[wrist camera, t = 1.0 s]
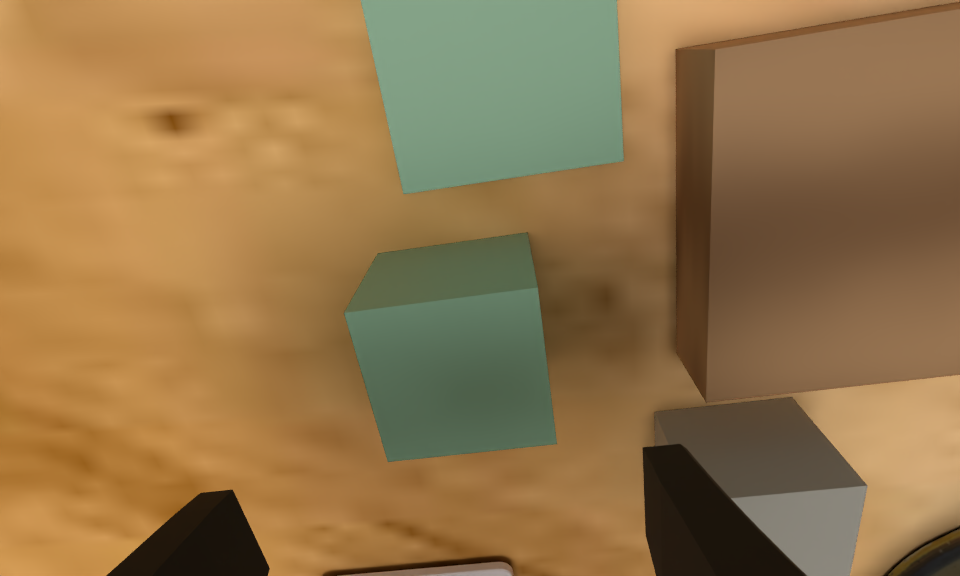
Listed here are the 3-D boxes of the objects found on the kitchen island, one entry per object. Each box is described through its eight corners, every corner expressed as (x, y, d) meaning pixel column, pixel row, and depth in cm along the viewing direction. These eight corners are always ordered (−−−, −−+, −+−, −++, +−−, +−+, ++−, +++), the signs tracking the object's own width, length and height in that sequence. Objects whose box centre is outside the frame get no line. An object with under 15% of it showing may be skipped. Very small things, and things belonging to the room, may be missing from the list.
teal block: (543, 360, 17) (556, 444, 14) (409, 376, 18) (388, 461, 14) (527, 231, 15) (538, 287, 12) (378, 252, 16) (343, 313, 12)
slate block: (779, 494, 19) (845, 597, 16) (655, 506, 20) (692, 609, 16) (789, 395, 18) (867, 485, 14) (653, 409, 18) (694, 501, 14)
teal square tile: (620, 158, 14) (623, 161, 14) (406, 190, 15) (403, 194, 14) (608, -108, 12) (611, -113, 11) (351, -58, 12) (347, -61, 12)
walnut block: (964, 311, 16) (1057, 363, 14) (672, 346, 17) (706, 402, 15) (1047, -14, 13) (1197, -31, 10) (670, 49, 14) (715, 49, 11)
